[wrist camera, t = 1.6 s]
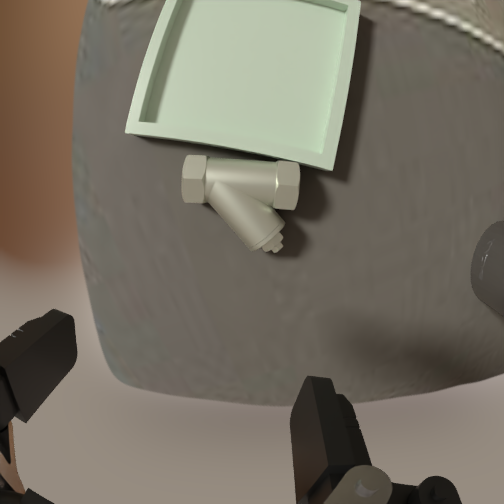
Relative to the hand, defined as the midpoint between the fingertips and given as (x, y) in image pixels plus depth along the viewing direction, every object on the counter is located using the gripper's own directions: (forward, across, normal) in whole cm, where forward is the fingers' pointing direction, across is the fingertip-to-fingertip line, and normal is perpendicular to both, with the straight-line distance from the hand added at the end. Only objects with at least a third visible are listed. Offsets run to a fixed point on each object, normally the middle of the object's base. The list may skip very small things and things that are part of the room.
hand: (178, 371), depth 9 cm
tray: (+16, +2, -16) cm, 22 cm away
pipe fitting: (+14, -1, 0) cm, 14 cm away
